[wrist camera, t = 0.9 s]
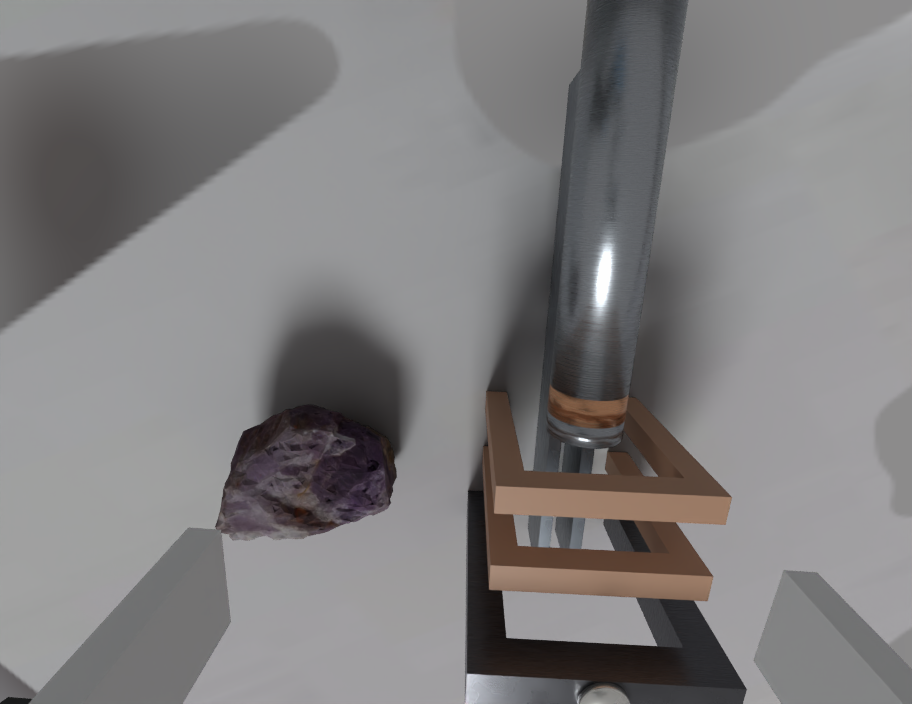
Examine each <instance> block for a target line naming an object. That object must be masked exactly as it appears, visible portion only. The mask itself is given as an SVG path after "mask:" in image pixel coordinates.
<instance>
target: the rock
mask: <svg viewBox="0 0 912 704" xmlns="http://www.w3.org/2000/svg"><path fill="white" fill-rule="evenodd" d="M394 458H395V456H394V452H393V449H392V447H391V444H390V442H389V440H388V439H387V438H386V436H383V435H381V434H379V433H378V432H376V431H375V430H373V429H371V428H370V427H369V426H368V427H364V426H361V425H360V424H359V423H355V422H354V421H353V420H350V419H347V418H345V417H344V416H343V415H342V413H339V412H334V411H329V410H326V409H325V408H321V407H318V406H315V405H304V406H298V407H296V408H294V409H286V410H285V411H284V412H282V413H280V414H277V415H273V416H272V417H270V418H269V419H267V420H266V421H264V422H263V423H261V424H260V425H257V426H255V427H252V428H250V429H248V430H245V431H243V433H242V436H241V438H240V440H239V442H238V445H237V448H236V451H235V454H234V457H233V459H232V462H231V471H230V474H229V477H228V479H227V481H226V482H225V486H224V489H223V497H222V503H221V509H220V513H219V517H218V521H217V523H216V526H215V527H216V530H221V533H224V534H229V537H230V538H231V539H232V540H246V541H248V540H253V539H255V538H257V537H261V536H268V537H270V538H272V539H273V540H280V539H304V538H305V537H307V536H311V535H315V534H320V533H325V532H327V531H330V530H332V529H334V528H336V527H338V526H340V525H343V524H346V523H350V522H352V521H353V522H356V521H358V520H360V519H361V518H363V517H365V516H368V515H375V514H378V513H380V512H382V511H384V510H386V509H387V508H388V507H389V505H390V504H391V502H390V498H391V495H392V492H393V487H392V486H393V484H394V481H395V479H396V477H397V474H396V467H395V464H394Z"/></svg>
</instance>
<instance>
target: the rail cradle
mask: <svg viewBox="0 0 912 704" xmlns="http://www.w3.org/2000/svg"><path fill="white" fill-rule="evenodd" d="M580 71H581V69H580ZM580 71H579V72H578V74H577V75H576V77H575V78H574V79H573V81H572V82H571V84H570V85H569V93H568V103H567V115H566V125H565V136H564V146H563V157H562V168H561V179H560V189H559V200H558V211H557V222H556V233H555V243H554V254H553V265H552V276H551V286H550V297H549V308H548V319H547V330H546V340H545V351H544V362H543V373H542V383H541V394H540V405H539V416H538V427H537V437H536V448H535V459H534V470H533V471H541V472H558V467H559V458H560V449H561V441H559V440H557V439H555V438H554V437H552V436H551V435H550V434H549V433H548V432H547V430H546V417H547V407H548V397H549V387H550V376H551V366H552V356H553V346H554V336H555V326H556V315H557V305H558V295H559V285H560V275H561V264H562V254H563V244H564V234H565V224H566V214H567V203H568V193H569V183H570V173H571V163H572V153H573V142H574V132H575V122H576V112H577V102H578V91H579V81H580ZM593 456H594V449H591V448H582V447H577V446H573V445H569V444H566V443H565V447H564V456H563V465H562V472H563V473H584V474H591V471H592V464H593ZM552 522H553V516H535V515H529V524H528V531H529V537H530V542H531V547H548V548H550V540H551V531H552ZM584 524H585V518H576V517H557V519H556V527H555V531H556V535H557V538H558V542H559V546H560V548H568V549H581V546H582V539H583V531H584Z"/></svg>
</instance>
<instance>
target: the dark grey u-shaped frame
mask: <svg viewBox="0 0 912 704" xmlns="http://www.w3.org/2000/svg"><path fill="white" fill-rule="evenodd" d="M603 525H604V527H605V529H606V531H607V534H608V536H609V538H610V540H611V543H612V545H613V547H614V549H615V551H628V552H648V553H651V551H650V549H649V547H648V546H647V544H646V542H645V540H644V538H643V537H642V535H641V533H640V531H639V529H638V528H637V526H636V524H635V522H634V520H618V519H604V524H603ZM636 599H637V601H638V603H639V605H640V608H641V610H642V612H643V614H644V617H645V619H646V621H647V623H648V625H649V628H650V630H651V632H652V634H653V637H654V639H655V641H656V643H657V646H641V645H622V644H604V643H585V642H567V641H548V640H530V639H511V638H506V630H505V619H504V608H503V596H502V590H489V581H488V562H487V543H486V524H485V505H484V492H481V491H468V504H467V551H466V647H465V704H743V701H744V697H745V694H746V690H747V689H746V687H745V686H744V684H743V682H742V681H741V679H740V677H739V676H738V674H737V672H736V671H735V669H734V667H733V666H732V664H731V662H730V661H729V659H728V657H727V656H726V654H725V652H724V651H723V649H722V647H721V645H720V644H719V642H718V640H717V639H716V637H715V635H714V634H713V632H712V630H711V629H710V627H709V625H708V624H707V622H706V620H705V619H704V617H703V615H702V614H701V612H700V610H699V609H698V607H697V605H696V604H695V602H694V600H676V599H657V598H637V597H636Z"/></svg>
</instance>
